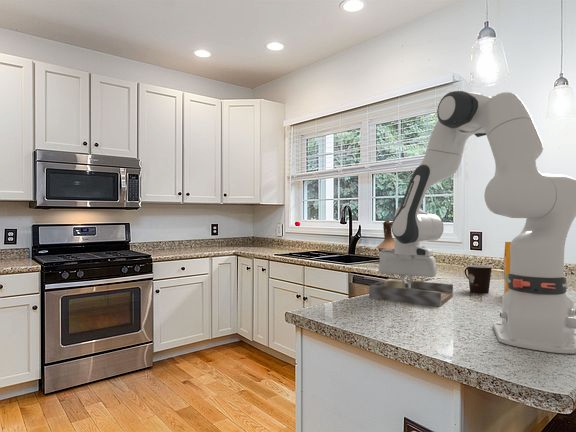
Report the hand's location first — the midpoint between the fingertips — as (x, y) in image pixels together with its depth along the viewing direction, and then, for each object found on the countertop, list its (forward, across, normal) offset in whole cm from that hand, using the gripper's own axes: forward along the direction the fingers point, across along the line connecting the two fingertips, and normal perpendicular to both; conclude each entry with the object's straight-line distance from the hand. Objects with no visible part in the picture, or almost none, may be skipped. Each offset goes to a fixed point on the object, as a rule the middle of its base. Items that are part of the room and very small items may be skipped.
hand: (407, 287), depth 138 cm
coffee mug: (+4, +20, +27) cm, 33 cm away
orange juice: (+4, +34, +21) cm, 40 cm away
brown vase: (+3, -44, +106) cm, 114 cm away
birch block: (+2, -4, 0) cm, 5 cm away
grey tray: (+3, +2, 0) cm, 4 cm away
